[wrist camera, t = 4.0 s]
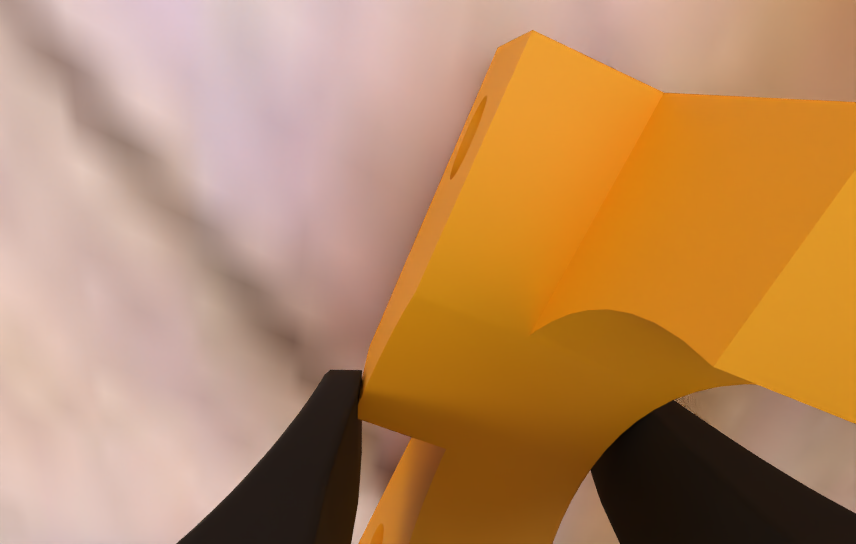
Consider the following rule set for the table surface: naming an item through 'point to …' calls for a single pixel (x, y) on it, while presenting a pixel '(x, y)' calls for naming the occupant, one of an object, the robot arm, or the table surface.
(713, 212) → the pipe clamp
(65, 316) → the table surface
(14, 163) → the table surface
